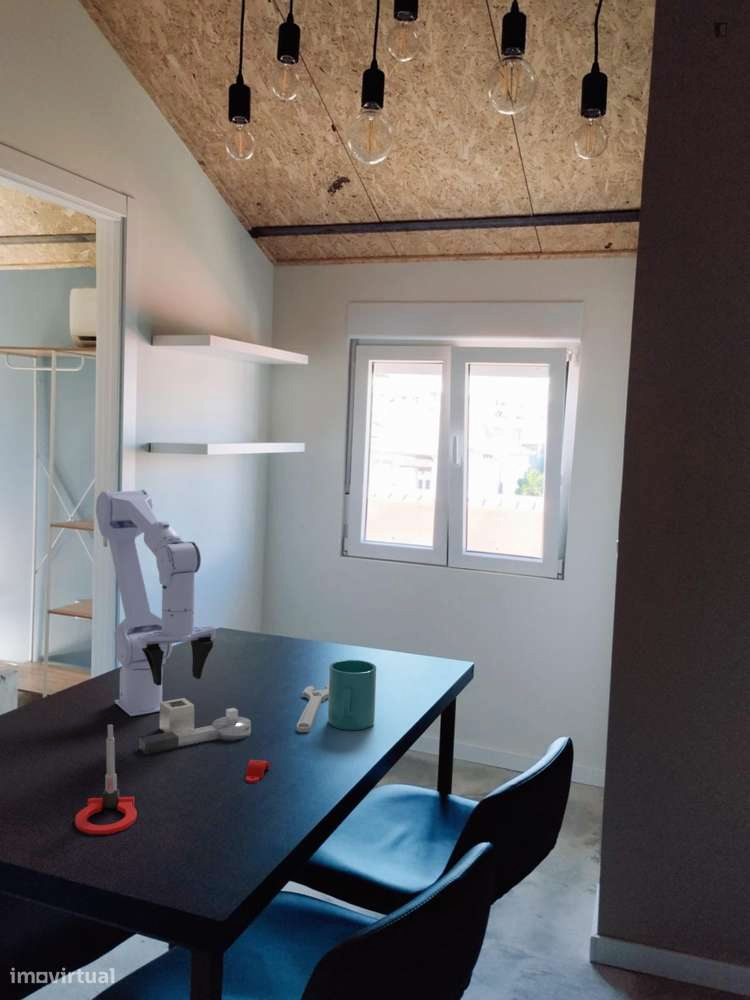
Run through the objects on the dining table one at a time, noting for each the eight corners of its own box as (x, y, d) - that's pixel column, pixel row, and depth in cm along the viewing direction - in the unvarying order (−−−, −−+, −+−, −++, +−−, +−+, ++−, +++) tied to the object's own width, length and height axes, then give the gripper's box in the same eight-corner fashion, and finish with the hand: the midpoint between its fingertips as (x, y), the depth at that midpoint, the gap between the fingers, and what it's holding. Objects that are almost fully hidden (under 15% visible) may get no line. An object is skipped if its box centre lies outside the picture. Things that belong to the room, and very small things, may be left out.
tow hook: (131, 837, 119) (141, 803, 128) (131, 749, 117) (140, 722, 126) (69, 839, 118) (83, 805, 127) (67, 751, 116) (81, 723, 125)
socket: (159, 728, 158) (159, 702, 158) (183, 723, 161) (184, 697, 160) (169, 736, 154) (169, 709, 154) (194, 731, 157) (194, 705, 157)
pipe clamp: (257, 763, 144) (257, 751, 144) (273, 765, 144) (273, 753, 144) (241, 783, 136) (242, 770, 136) (258, 785, 136) (258, 772, 136)
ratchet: (135, 745, 150) (135, 720, 149) (240, 723, 162) (240, 701, 161) (149, 758, 144) (149, 733, 144) (257, 735, 156) (257, 712, 156)
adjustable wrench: (309, 736, 158) (309, 727, 158) (276, 733, 159) (276, 724, 159) (336, 693, 183) (337, 685, 182) (307, 690, 184) (307, 682, 183)
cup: (320, 735, 157) (321, 676, 156) (332, 713, 169) (334, 658, 168) (368, 739, 156) (370, 679, 155) (377, 716, 168) (379, 661, 167)
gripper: (147, 617, 148) (147, 693, 149) (223, 608, 156) (222, 680, 158) (133, 609, 154) (133, 682, 155) (207, 601, 162) (206, 670, 163)
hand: (177, 680), depth 157 cm, fingers open, 7 cm apart
